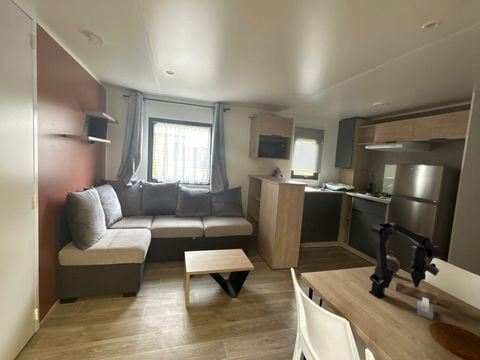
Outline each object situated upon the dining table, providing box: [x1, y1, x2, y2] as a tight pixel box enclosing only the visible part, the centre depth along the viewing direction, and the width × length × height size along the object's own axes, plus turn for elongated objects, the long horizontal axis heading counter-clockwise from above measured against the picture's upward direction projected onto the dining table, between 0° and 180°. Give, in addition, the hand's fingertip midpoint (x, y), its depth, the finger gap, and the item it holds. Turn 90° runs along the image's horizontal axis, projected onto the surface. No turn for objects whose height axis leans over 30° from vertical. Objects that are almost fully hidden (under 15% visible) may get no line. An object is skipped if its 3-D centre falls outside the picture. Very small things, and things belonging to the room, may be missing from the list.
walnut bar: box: [395, 280, 438, 305], centre depth 126 cm, size 18×4×5 cm, turn 50°
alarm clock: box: [387, 250, 401, 276], centre depth 151 cm, size 11×5×16 cm, turn 46°
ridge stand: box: [416, 297, 435, 320], centre depth 112 cm, size 6×10×5 cm, turn 141°
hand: (416, 284), depth 126 cm, fingers open, 9 cm apart
